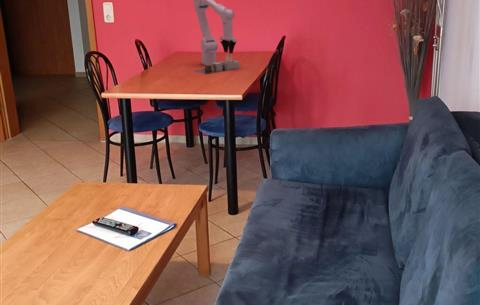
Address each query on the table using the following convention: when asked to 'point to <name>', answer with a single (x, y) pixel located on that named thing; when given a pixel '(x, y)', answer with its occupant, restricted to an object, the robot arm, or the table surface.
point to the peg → (228, 58)
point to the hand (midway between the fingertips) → (228, 52)
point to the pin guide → (217, 66)
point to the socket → (230, 65)
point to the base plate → (211, 72)
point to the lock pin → (209, 68)
